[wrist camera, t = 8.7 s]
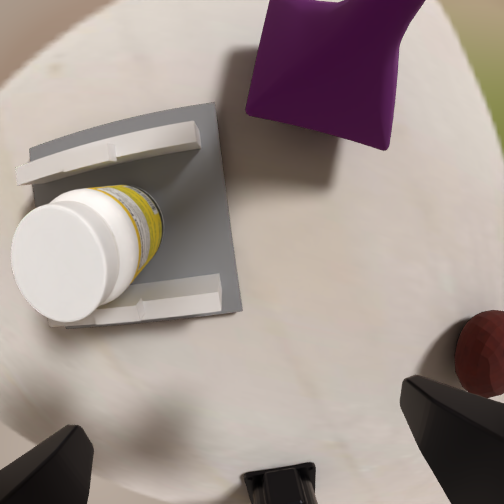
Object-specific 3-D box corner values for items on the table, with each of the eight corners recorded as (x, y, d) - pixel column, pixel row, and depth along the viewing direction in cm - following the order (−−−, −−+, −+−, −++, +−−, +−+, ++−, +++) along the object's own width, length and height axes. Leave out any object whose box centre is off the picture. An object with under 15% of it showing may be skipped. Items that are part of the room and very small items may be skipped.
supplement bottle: (93, 267, 17) (15, 328, 9) (86, 187, 16) (-6, 199, 8) (168, 265, 17) (127, 336, 9) (164, 181, 16) (110, 185, 8)
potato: (482, 279, 21) (532, 304, 15) (507, 340, 23) (544, 366, 17) (427, 344, 21) (470, 384, 15) (462, 393, 24) (494, 427, 18)
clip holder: (242, 305, 19) (247, 344, 14) (70, 323, 18) (38, 358, 14) (215, 105, 16) (211, 80, 12) (35, 149, 16) (-10, 145, 11)
